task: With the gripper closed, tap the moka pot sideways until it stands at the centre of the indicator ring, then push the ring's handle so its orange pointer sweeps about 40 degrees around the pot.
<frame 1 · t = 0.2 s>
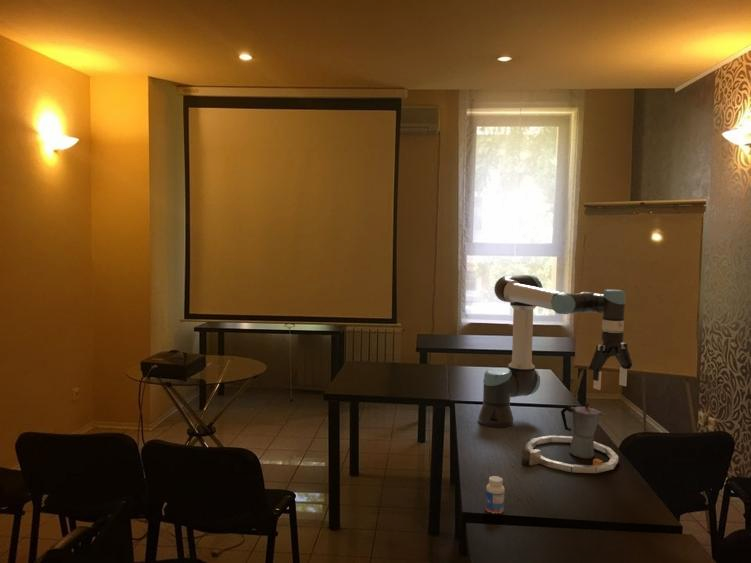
hand: (609, 387, 222), 26 cm above the table, fingers open, 13 cm apart
moka pot: (580, 455, 224), resting in indicator ring
pill bottle: (494, 510, 177), on the table
indicator ring: (563, 450, 220), point 3 cm above the table, hinge at 0.0°
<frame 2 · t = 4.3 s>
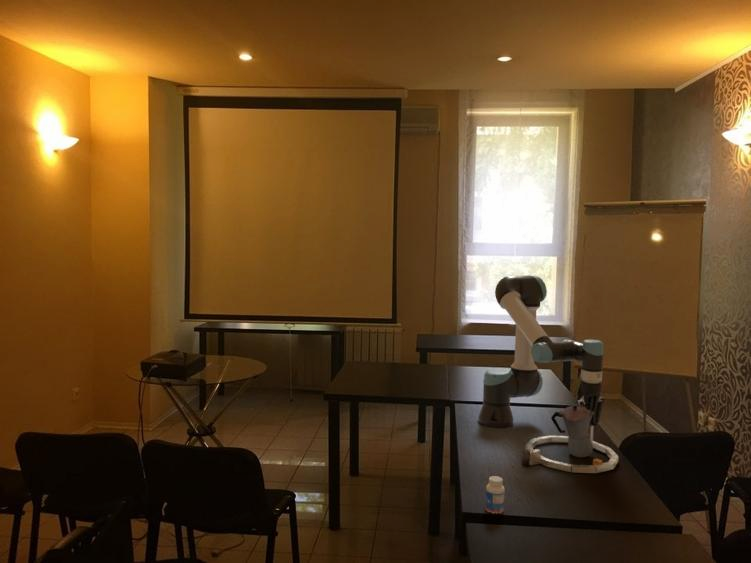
hand: (588, 441, 225), 4 cm above the table, fingers closed
moka pot: (580, 451, 224), point 1 cm above the table, touching gripper
everything else where it was.
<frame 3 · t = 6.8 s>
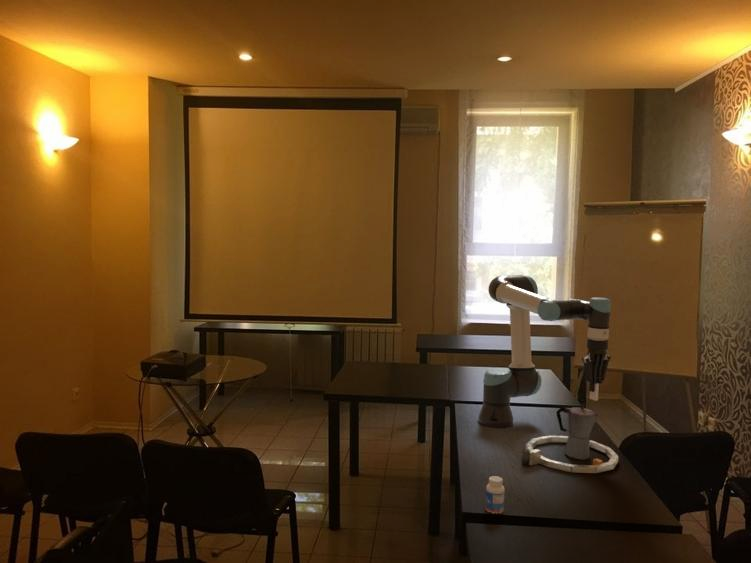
hand: (593, 399, 225), 21 cm above the table, fingers closed
moka pot: (575, 456, 223), resting in indicator ring
everything else where it was.
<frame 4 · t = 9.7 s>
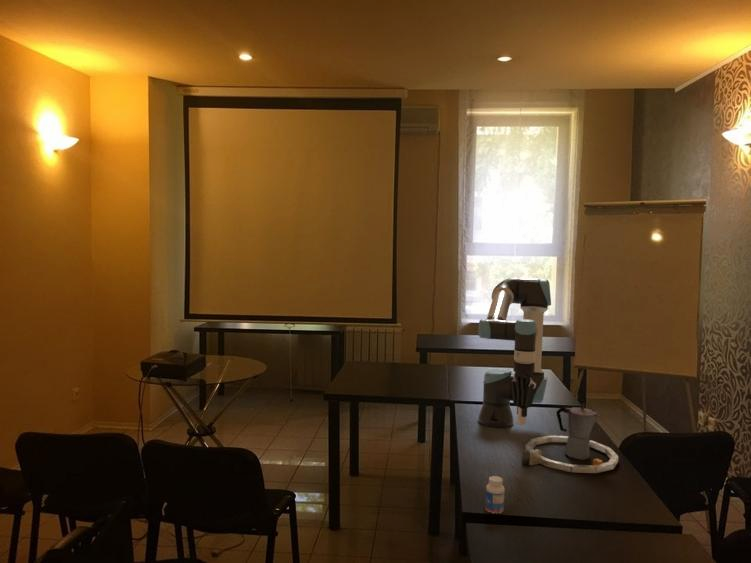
hand: (521, 424, 219), 12 cm above the table, fingers closed
nothing on the table moved.
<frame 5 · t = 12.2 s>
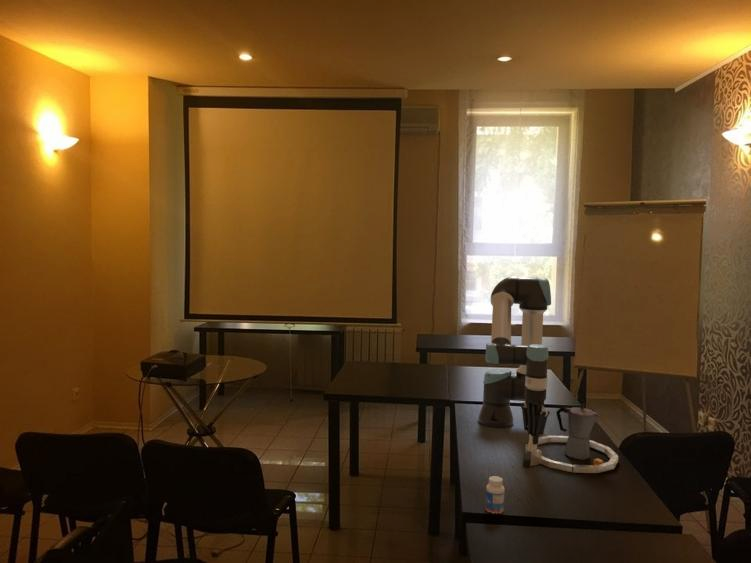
hand: (532, 451, 214), 4 cm above the table, fingers closed
indicator ring: (563, 450, 220), point 3 cm above the table, hinge at 1.3°, touching gripper
everything else where it was.
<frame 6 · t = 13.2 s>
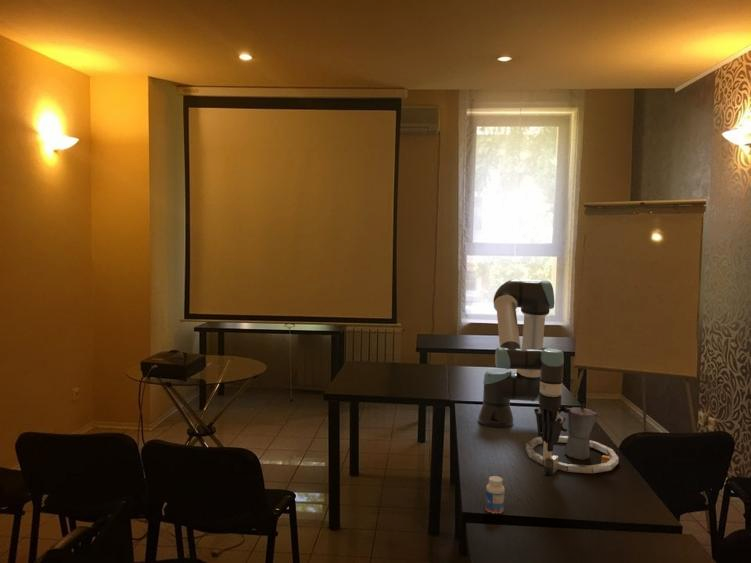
hand: (547, 459, 208), 4 cm above the table, fingers closed
indicator ring: (567, 451, 218), point 3 cm above the table, hinge at 25.3°, touching gripper
everything else where it was.
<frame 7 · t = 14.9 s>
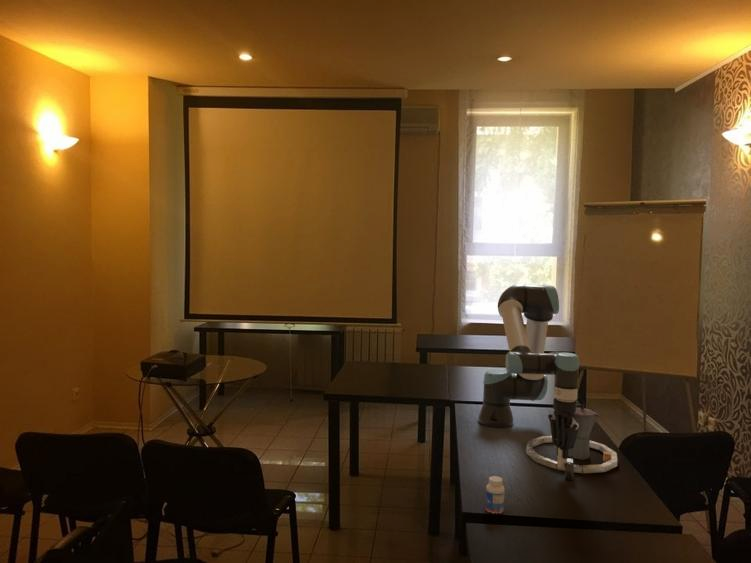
hand: (561, 466, 202), 4 cm above the table, fingers closed
indicator ring: (570, 452, 218), point 3 cm above the table, hinge at 42.8°, touching gripper
everything else where it was.
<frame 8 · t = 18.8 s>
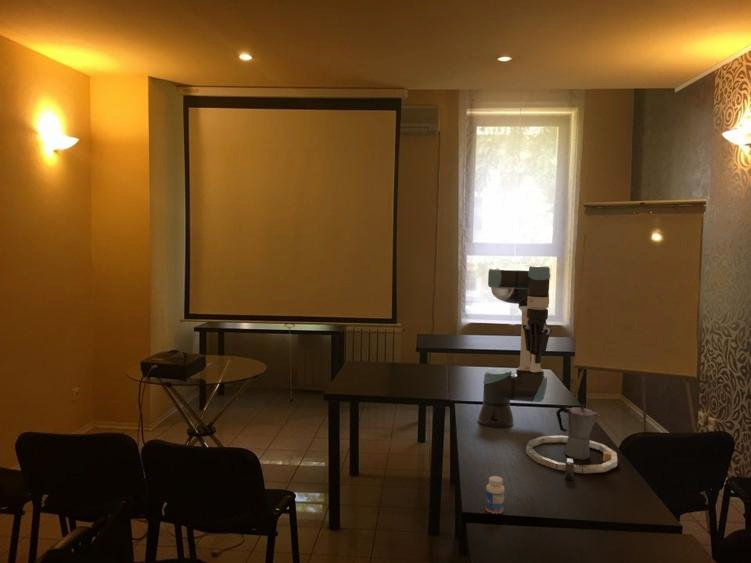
hand: (534, 371, 218), 32 cm above the table, fingers closed
indicator ring: (570, 452, 218), point 3 cm above the table, hinge at 42.8°
everything else where it was.
at the end: moka pot 2.6 cm from the indicator ring (horizontally); indicator ring at +43° (first picture: +0°); moka pot tilted 0° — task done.
